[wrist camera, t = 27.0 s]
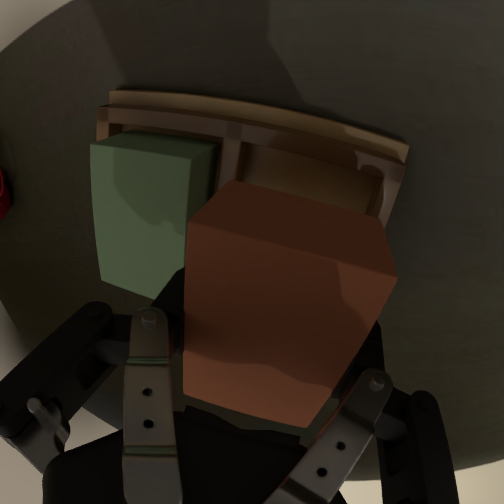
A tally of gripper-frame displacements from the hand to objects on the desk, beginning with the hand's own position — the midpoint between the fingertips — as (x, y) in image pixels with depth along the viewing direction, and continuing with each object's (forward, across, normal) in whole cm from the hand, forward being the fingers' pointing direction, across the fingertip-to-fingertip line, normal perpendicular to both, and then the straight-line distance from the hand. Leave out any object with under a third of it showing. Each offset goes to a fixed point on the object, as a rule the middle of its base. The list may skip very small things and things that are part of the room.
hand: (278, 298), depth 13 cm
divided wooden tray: (+7, +4, 0) cm, 8 cm away
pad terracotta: (+1, 0, 0) cm, 1 cm away
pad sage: (+6, +8, 0) cm, 10 cm away
